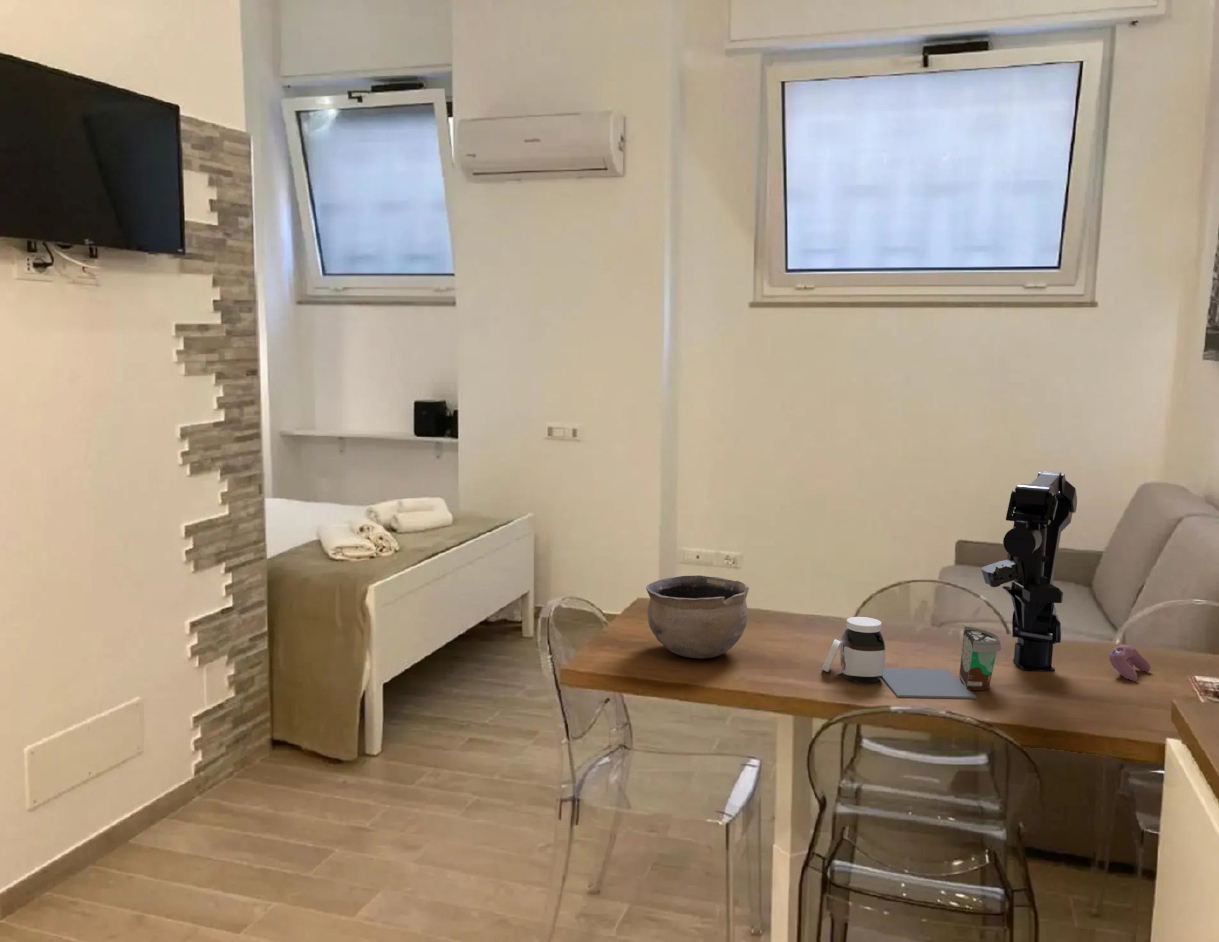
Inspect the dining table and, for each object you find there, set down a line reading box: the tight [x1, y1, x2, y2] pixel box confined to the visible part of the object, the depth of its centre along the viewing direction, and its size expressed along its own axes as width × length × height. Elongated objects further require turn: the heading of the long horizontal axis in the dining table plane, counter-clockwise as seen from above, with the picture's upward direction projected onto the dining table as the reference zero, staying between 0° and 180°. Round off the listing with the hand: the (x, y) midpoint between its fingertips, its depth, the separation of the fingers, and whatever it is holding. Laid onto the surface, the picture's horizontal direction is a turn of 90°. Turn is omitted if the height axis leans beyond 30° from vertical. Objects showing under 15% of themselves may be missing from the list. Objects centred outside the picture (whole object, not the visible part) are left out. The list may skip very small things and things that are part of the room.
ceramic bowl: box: [645, 575, 750, 659], centre depth 210 cm, size 22×22×15 cm
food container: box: [958, 625, 1002, 691], centre depth 193 cm, size 12×6×10 cm, turn 169°
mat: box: [881, 667, 977, 700], centre depth 194 cm, size 15×16×1 cm
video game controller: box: [1108, 644, 1151, 682], centre depth 202 cm, size 10×5×7 cm, turn 135°
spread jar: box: [821, 616, 886, 684], centre depth 197 cm, size 12×11×12 cm
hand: (1023, 626), depth 192 cm, fingers open, 2 cm apart
